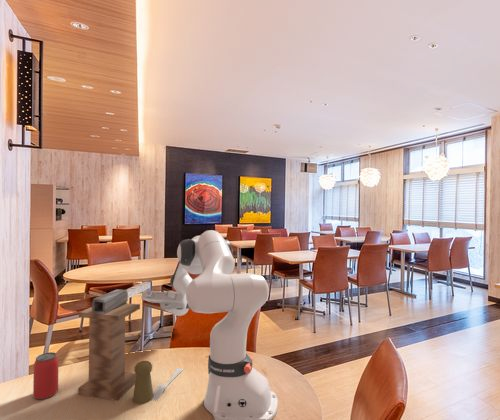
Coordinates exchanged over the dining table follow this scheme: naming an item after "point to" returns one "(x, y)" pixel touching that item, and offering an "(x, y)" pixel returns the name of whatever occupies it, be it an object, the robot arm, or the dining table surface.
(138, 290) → the grey bar
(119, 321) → the tube stand
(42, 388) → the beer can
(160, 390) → the fork
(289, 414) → the dining table surface
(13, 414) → the dining table surface
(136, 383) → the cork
